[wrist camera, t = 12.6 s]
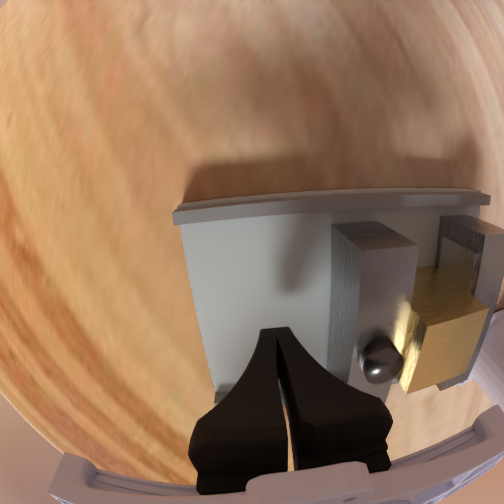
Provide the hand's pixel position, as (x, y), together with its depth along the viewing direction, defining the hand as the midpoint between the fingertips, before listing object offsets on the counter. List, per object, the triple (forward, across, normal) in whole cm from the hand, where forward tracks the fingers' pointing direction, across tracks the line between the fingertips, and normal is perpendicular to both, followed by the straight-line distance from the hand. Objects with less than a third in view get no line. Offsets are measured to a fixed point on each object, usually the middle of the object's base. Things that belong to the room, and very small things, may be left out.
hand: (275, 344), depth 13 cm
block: (+2, -8, 0) cm, 8 cm away
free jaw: (+2, -5, 0) cm, 5 cm away
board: (+3, -5, 0) cm, 6 cm away
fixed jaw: (+2, -11, 0) cm, 12 cm away
